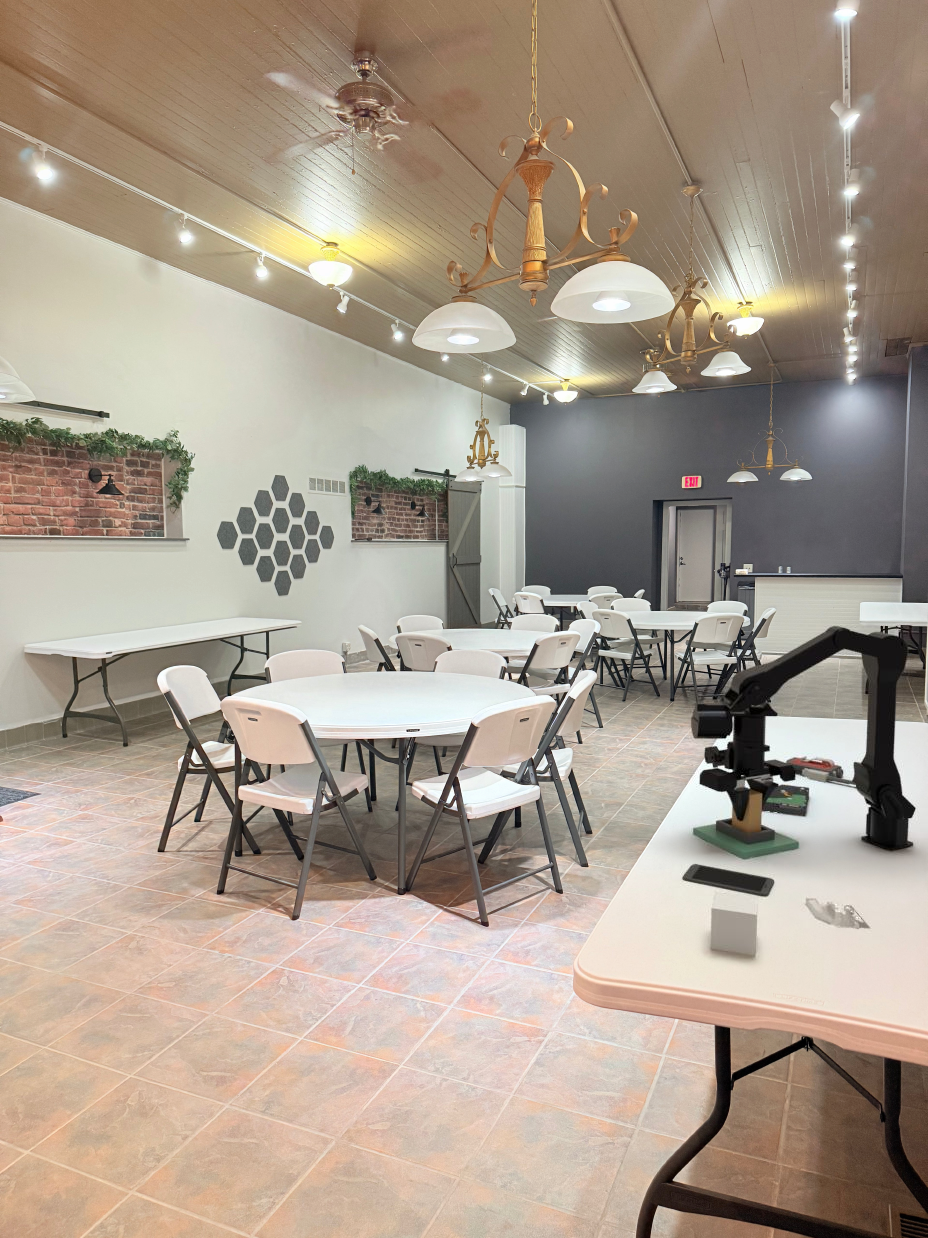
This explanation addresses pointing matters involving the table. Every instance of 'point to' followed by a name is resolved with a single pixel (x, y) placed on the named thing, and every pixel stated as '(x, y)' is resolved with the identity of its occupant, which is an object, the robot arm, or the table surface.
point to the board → (745, 839)
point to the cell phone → (729, 880)
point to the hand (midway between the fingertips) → (746, 819)
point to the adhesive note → (734, 923)
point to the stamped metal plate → (835, 914)
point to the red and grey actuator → (818, 769)
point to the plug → (750, 814)
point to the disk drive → (788, 800)
